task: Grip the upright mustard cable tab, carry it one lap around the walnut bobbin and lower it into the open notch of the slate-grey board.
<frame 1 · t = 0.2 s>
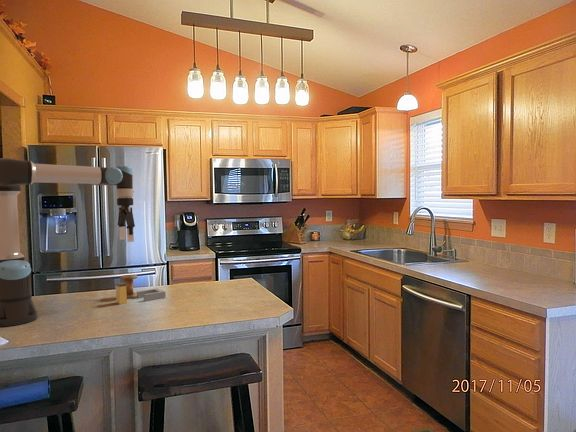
hand: (126, 240, 206), 27 cm above the countertop, fingers open, 13 cm apart
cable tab: (121, 302, 191), on the countertop
bobbin: (129, 296, 203), on the countertop
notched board: (151, 297, 200), on the countertop
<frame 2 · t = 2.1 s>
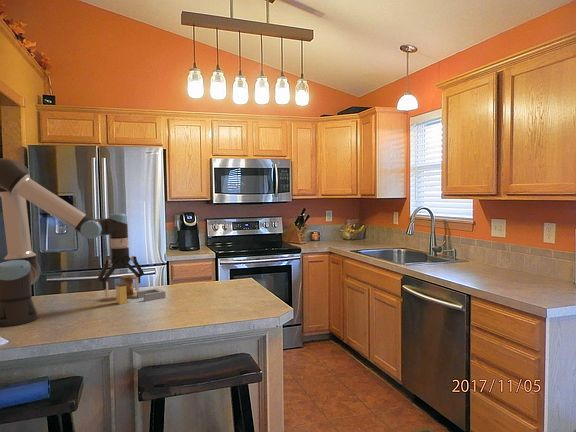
hand: (122, 293, 191), 4 cm above the countertop, fingers open, 13 cm apart
nothing on the countertop moved.
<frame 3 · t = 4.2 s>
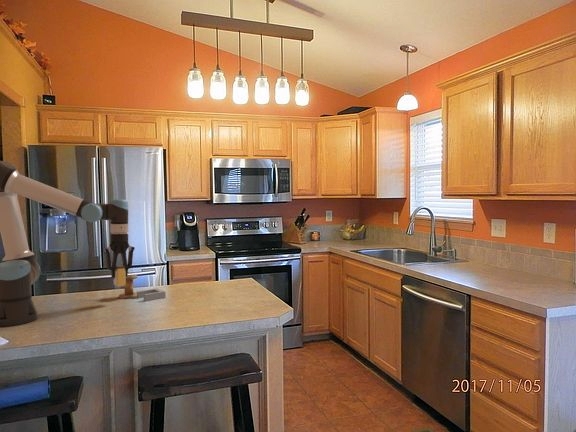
hand: (119, 284, 191), 9 cm above the countertop, fingers closed on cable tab, 3 cm apart
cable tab: (119, 285, 190), point 8 cm above the countertop, touching gripper
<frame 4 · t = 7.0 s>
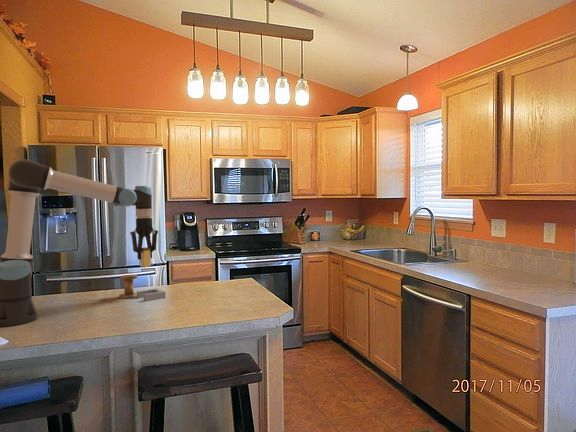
hand: (145, 265, 203), 15 cm above the countertop, fingers closed on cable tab, 3 cm apart
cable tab: (145, 266, 203), point 15 cm above the countertop, touching gripper
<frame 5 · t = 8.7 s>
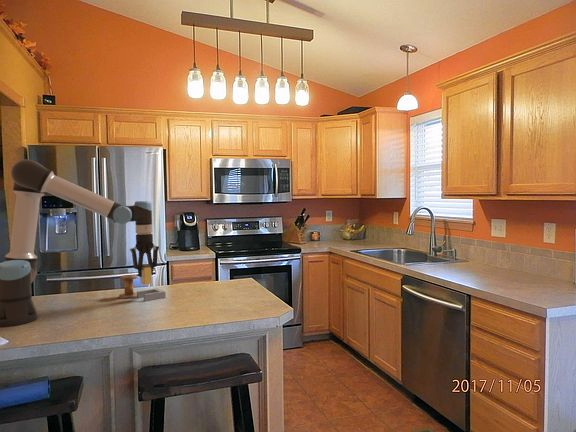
hand: (146, 282, 198), 8 cm above the countertop, fingers closed on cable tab, 3 cm apart
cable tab: (146, 283, 198), point 7 cm above the countertop, touching gripper
when the fingers open (1 cm above the countertop, at t = 10.1 s): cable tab stays where it is, on the countertop.
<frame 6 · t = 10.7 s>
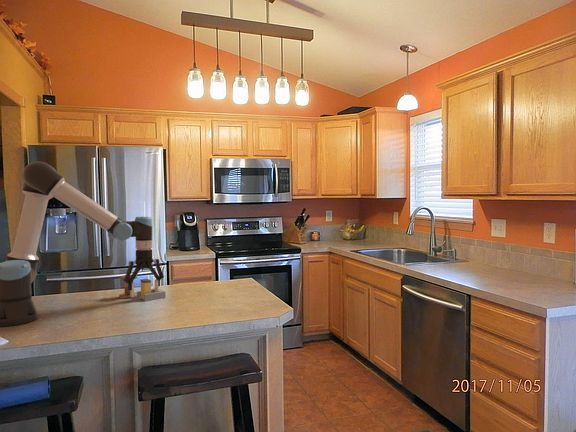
hand: (144, 295, 198), 2 cm above the countertop, fingers open, 11 cm apart
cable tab: (146, 298, 198), on the countertop
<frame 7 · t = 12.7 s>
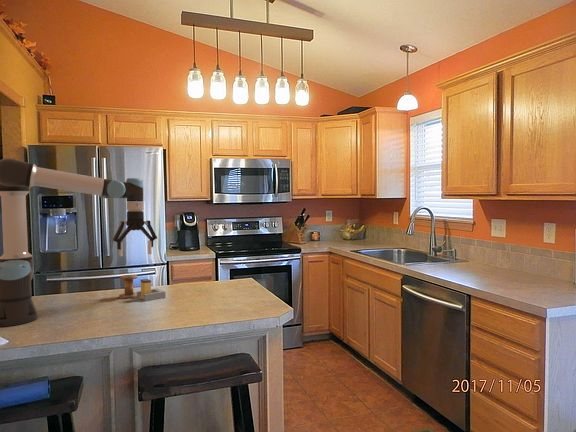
hand: (135, 255, 199), 21 cm above the countertop, fingers open, 13 cm apart
nothing on the countertop moved.
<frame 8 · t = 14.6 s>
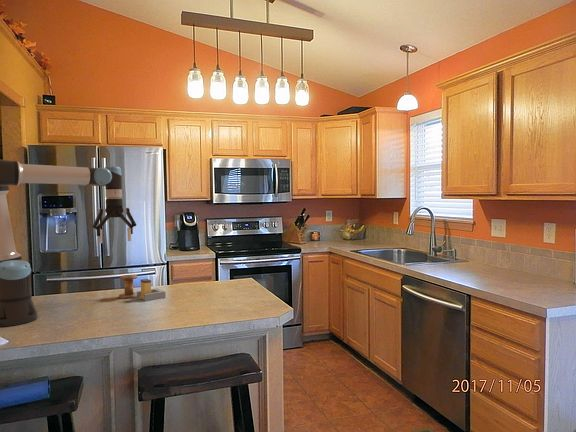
hand: (115, 242, 203), 27 cm above the countertop, fingers open, 13 cm apart
nothing on the countertop moved.
at the end: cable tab 0.8 cm from the target spot on the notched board, point 0.0 cm above the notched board's base; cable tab tilted 0°; the gripper is holding nothing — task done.
